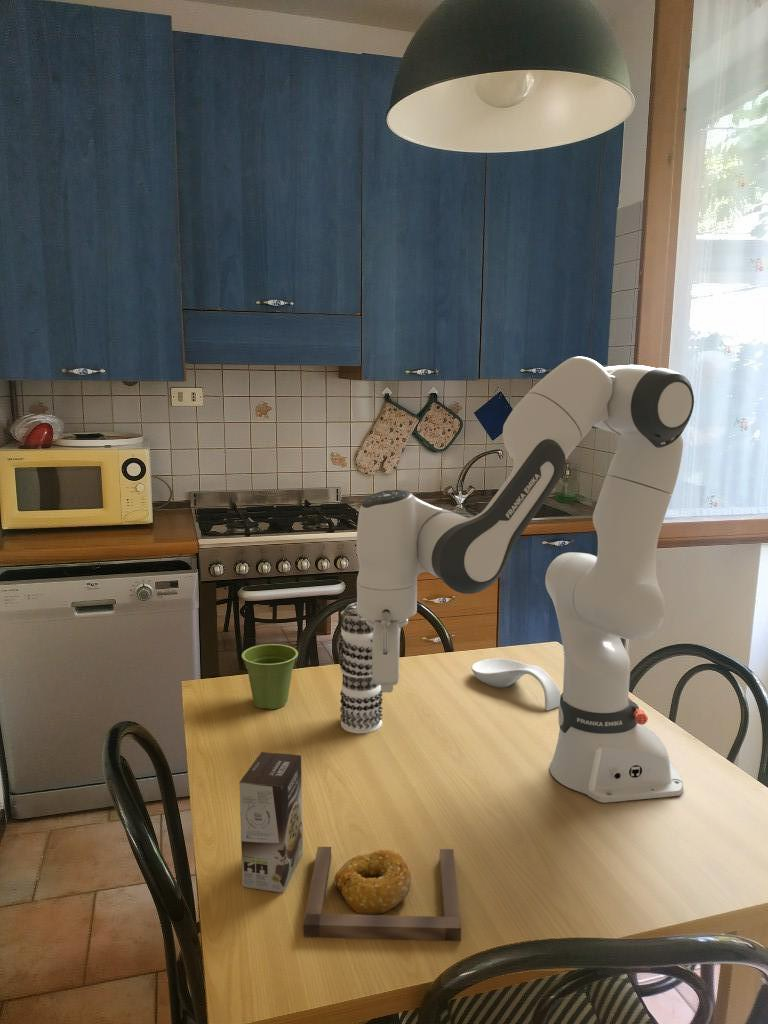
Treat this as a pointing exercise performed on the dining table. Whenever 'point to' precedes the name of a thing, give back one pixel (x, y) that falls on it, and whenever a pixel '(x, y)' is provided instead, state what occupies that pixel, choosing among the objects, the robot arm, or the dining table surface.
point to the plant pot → (270, 673)
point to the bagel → (374, 881)
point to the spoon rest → (516, 677)
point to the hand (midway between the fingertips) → (387, 688)
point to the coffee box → (271, 821)
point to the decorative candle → (358, 675)
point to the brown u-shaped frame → (382, 924)
